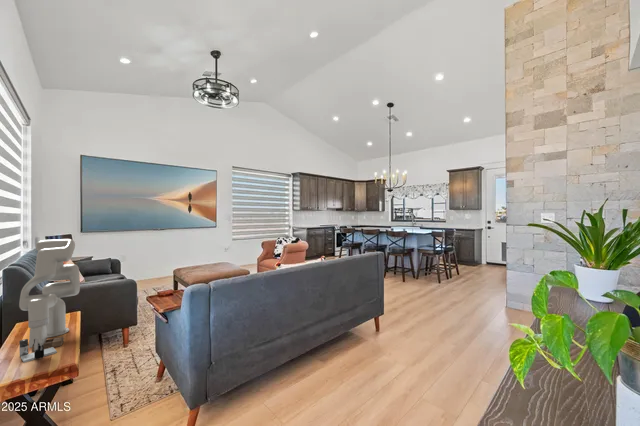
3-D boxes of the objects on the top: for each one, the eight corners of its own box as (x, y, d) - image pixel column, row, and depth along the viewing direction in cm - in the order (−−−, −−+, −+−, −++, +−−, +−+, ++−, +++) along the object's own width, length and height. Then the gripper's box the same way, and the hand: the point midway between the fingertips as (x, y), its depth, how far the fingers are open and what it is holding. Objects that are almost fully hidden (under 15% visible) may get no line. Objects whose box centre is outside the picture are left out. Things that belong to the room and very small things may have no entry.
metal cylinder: (21, 354, 151) (20, 339, 150) (29, 353, 152) (29, 338, 152) (18, 357, 148) (18, 342, 148) (27, 355, 150) (26, 340, 149)
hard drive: (53, 346, 158) (20, 355, 148) (56, 350, 153) (23, 360, 143) (53, 349, 158) (20, 359, 148) (56, 353, 153) (23, 363, 143)
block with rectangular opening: (35, 346, 160) (35, 341, 160) (63, 341, 166) (63, 336, 166) (31, 351, 155) (31, 345, 155) (61, 345, 161) (61, 340, 161)
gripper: (33, 319, 151) (33, 354, 151) (23, 328, 138) (24, 366, 138) (52, 316, 155) (53, 350, 155) (44, 325, 142) (45, 362, 142)
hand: (39, 357), depth 146 cm, fingers closed
